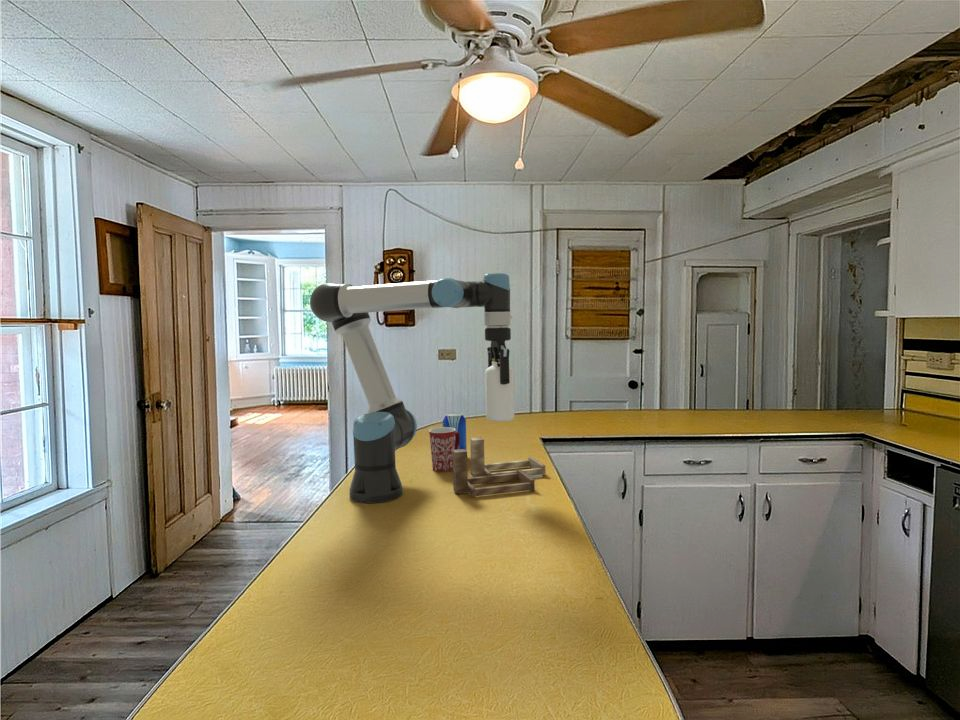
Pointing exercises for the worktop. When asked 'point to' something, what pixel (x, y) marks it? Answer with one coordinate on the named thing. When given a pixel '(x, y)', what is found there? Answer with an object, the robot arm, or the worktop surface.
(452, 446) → the mug
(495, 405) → the potion bottle
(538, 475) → the lane divider
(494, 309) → the robot arm
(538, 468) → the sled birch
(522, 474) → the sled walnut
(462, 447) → the beer can
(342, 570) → the worktop surface
